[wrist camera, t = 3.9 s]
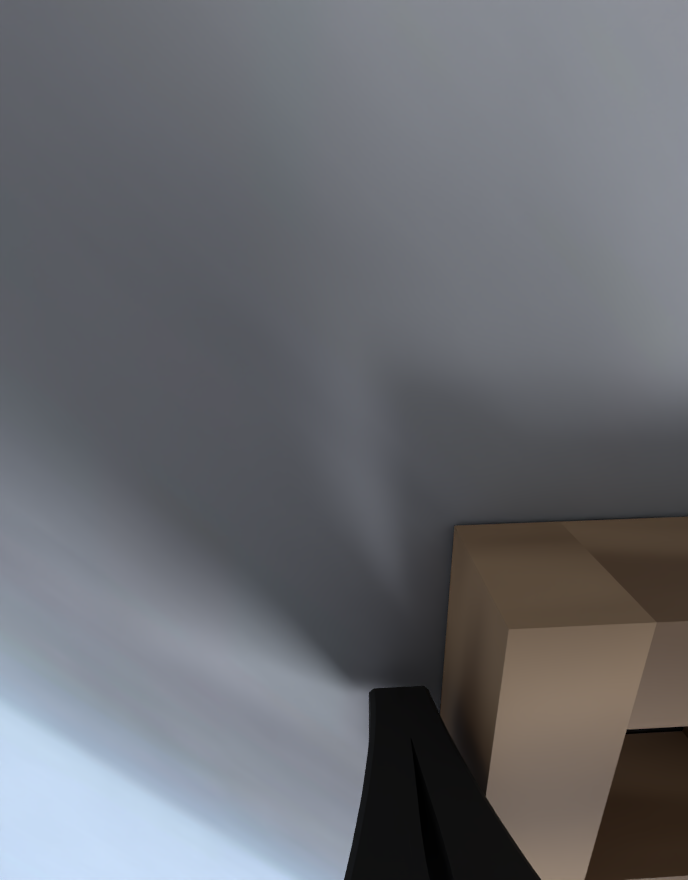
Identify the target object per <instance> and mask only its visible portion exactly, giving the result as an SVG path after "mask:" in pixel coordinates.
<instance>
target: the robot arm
mask: <svg viewBox="0 0 688 880" xmlns="http://www.w3.org/2000/svg"><path fill="white" fill-rule="evenodd" d="M344 880H541V878H540V877H539V876H538V874H537V873H536V872H535V870H534V869H533V867H532V866H531V864H530V863H529V862H528V860H527V859H526V857H525V856H524V854H523V853H522V851H521V850H520V849H519V847H518V846H517V844H516V843H515V841H514V840H513V838H512V837H511V835H510V834H509V832H508V831H507V829H506V827H505V826H504V824H503V823H502V821H501V820H500V818H499V817H498V815H497V814H496V812H495V811H494V809H493V807H492V806H491V804H490V803H489V801H488V799H487V798H486V796H485V795H484V793H483V791H482V790H481V788H480V786H479V785H478V783H477V781H476V780H475V778H474V776H473V775H472V773H471V771H470V769H469V768H468V766H467V764H466V763H465V761H464V759H463V757H462V756H461V754H460V752H459V750H458V749H457V747H456V745H455V743H454V741H453V739H452V737H451V736H450V734H449V732H448V730H447V728H446V726H445V724H444V722H443V720H442V718H441V716H440V714H439V712H438V710H437V708H436V706H435V704H434V701H433V699H432V697H431V695H430V692H429V690H428V689H427V688H426V687H425V686H414V687H394V688H375V689H373V690H372V691H370V692H369V746H368V756H367V763H366V770H365V777H364V784H363V791H362V797H361V802H360V808H359V813H358V818H357V823H356V828H355V833H354V838H353V843H352V848H351V852H350V856H349V861H348V865H347V870H346V874H345V878H344Z"/></svg>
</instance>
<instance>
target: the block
mask: <svg viewBox="0 0 688 880" xmlns="http://www.w3.org/2000/svg"><path fill="white" fill-rule="evenodd" d="M440 716H441V718H442V720H443V722H444V724H445V726H446V728H447V730H448V732H449V734H450V736H451V737H452V739H453V741H454V743H455V745H456V747H457V749H458V750H459V752H460V754H461V756H462V757H463V759H464V761H465V763H466V764H467V766H468V768H469V769H470V771H471V773H472V775H473V776H474V778H475V780H476V781H477V783H478V785H479V786H480V788H481V790H482V791H483V793H484V795H485V796H486V798H487V799H488V801H489V803H490V804H491V806H492V807H493V809H494V811H495V812H496V814H497V815H498V817H499V818H500V820H501V821H502V823H503V824H504V826H505V827H506V829H507V831H508V832H509V834H510V835H511V837H512V838H513V840H514V841H515V843H516V844H517V846H518V847H519V849H520V850H521V851H522V853H523V854H524V856H525V857H526V859H527V860H528V862H529V863H530V864H531V866H532V867H533V869H534V870H535V872H536V873H537V874H538V876H539V877H540V878H541V880H688V517H665V518H639V519H613V520H587V521H561V522H535V523H509V524H483V525H457V526H454V539H453V552H452V565H451V578H450V591H449V603H448V616H447V629H446V642H445V655H444V668H443V681H442V694H441V707H440ZM682 726H684V727H683V730H682V731H676V732H657V733H639V734H626V730H627V729H645V728H664V727H682Z"/></svg>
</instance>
